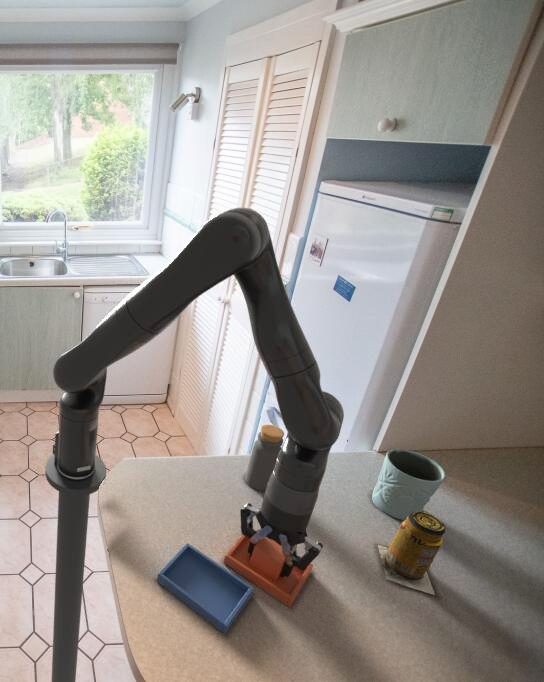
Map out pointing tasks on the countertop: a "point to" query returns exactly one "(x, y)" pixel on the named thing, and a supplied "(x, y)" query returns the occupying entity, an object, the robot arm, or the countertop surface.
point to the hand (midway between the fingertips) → (267, 564)
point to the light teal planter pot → (406, 483)
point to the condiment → (413, 551)
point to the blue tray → (205, 587)
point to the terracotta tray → (280, 589)
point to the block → (268, 558)
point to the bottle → (264, 456)
